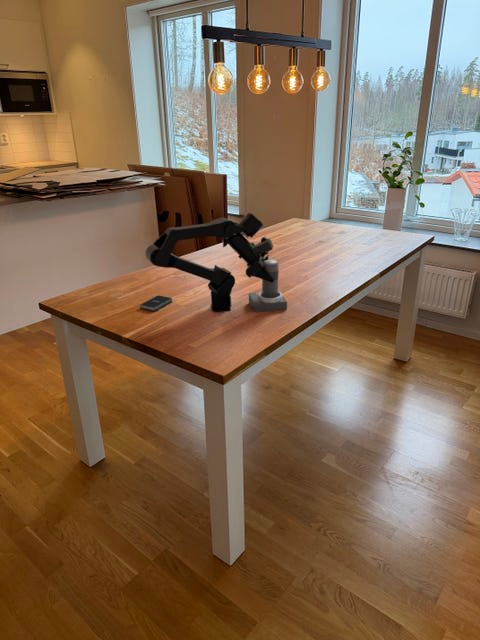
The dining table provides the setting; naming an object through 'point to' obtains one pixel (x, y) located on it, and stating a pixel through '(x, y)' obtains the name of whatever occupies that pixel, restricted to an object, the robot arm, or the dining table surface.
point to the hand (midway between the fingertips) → (274, 278)
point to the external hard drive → (156, 303)
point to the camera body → (267, 302)
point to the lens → (267, 287)
